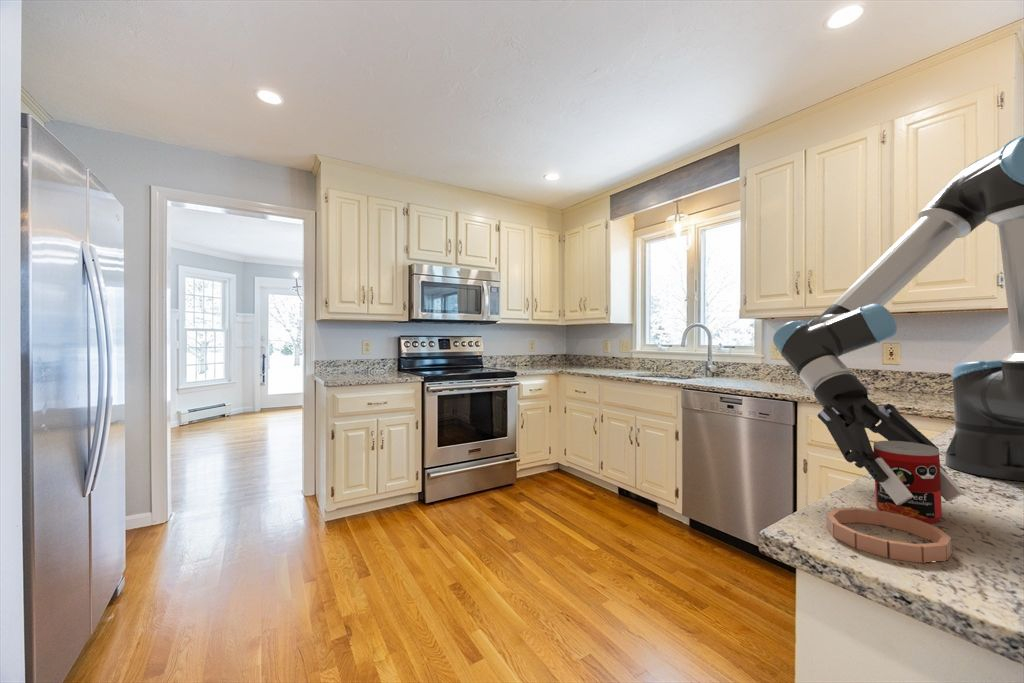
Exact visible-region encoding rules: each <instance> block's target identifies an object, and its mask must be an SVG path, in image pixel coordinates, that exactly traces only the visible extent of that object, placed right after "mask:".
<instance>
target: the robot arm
mask: <svg viewBox="0 0 1024 683" xmlns="http://www.w3.org/2000/svg"><path fill="white" fill-rule="evenodd" d="M917 220H918V221H916V222H915V223H914V224H913V225H912V226H911V227H910V228H909V229H908V230H907V231H906V232H905V233H904V234H903V235H902V236H901V237H900V238H899V239H897V241H896V242H895V243H894V244H893V245H892V246H891V247H889V249H888V250H886V251H885V253H883V254H882V255H881V257H879V258H878V259H877V260H876V261H875V262H874V263H873V264H872V265H871V266H870V267H869V268H868V269H867V270H866V271H864V273H863V274H861V276H859V278H858V279H857V280H856V281H855V282H853V283H852V284H851V285H850V287H848V289H847V290H845V291H844V292H843V293H842V294H841V295H840V296H839V297H838V298H837V299H836V300H835V301H833V303H832V304H831V305H830V306H829V307H828V308H826V310H824V311H823V312H822V314H821V315H819V316H816V317H813V318H812V319H811V320H809V321H808V322H807V323H806V321H804V320H796V321H795V320H792V321H788V322H786V323H784V324H783V325H781V326H780V327H779V328H777V330H776V331H775V333H774V334H773V337H772V342H773V344H774V346H775V348H776V349H777V350H778V352H779V353H780V356H781V357H782V358H783V359H784V360H785V361H786V363H788V364H789V366H790V367H791V368H792V369H793V371H794V372H795V374H797V375H798V377H799V378H800V380H801V381H802V382H803V383H804V385H805V386H806V387H807V388H808V390H809V391H810V392H811V393H812V394H813V396H814V398H815V400H817V401H818V403H819V405H821V406H822V408H823V409H822V410H821V411H820V412H819V413H818V414H817V415H816V416H817V418H818V419H819V420H820V421H821V422H822V423H823V424H824V425H825V426H826V428H827V430H828V432H829V433H830V435H831V436H832V438H833V440H834V442H835V444H836V445H837V448H838V449H839V451H840V453H841V454H842V455H843V458H844V459H845V460H846V462H848V463H854V462H855V463H854V465H855V467H857V468H858V469H862V468H865V469H866V471H867V472H868V474H870V476H871V478H872V479H873V480H874V482H875V481H877V482H878V483H880V484H881V486H882V487H883V488H884V489H885V491H886V492H887V493H888V495H889V496H890V497H891V498H892V500H893V501H894V502H895V504H896V505H901V504H902V503H904V502H906V501H907V500H909V499H910V498H912V497H914V496H913V495H912V494H911V493H910V491H909V490H908V489H907V488H906V487H905V485H904V484H903V483H902V482H901V481H900V479H899V478H898V477H897V476H896V474H895V473H894V472H893V471H892V470H891V468H890V467H889V466H888V465H887V464H886V462H885V461H884V460H883V459H882V458H877V459H874V458H875V455H874V449H873V447H872V445H871V441H870V440H869V436H868V434H867V430H866V429H868V430H869V431H871V432H872V433H874V434H879V435H880V436H882V437H884V439H886V441H904V442H913V443H920V444H925V445H929V446H933V447H935V448H937V449H938V450H940V448H939V447H938V446H936V445H935V444H934V443H933V442H932V441H931V439H929V438H927V436H926V435H924V434H923V433H922V432H921V431H920V430H918V428H917V427H915V426H914V425H913V424H911V423H910V422H909V421H908V420H907V418H905V417H903V416H902V415H901V414H900V413H899V411H898V410H897V408H896V407H895V406H894V404H891V403H887V404H886V405H884V406H881V405H877V404H876V403H875V402H873V401H872V400H870V398H869V394H868V389H867V387H866V386H865V385H864V384H863V383H862V382H861V381H860V379H859V378H857V376H855V375H854V374H853V372H852V370H851V369H850V368H849V367H848V366H847V365H846V364H845V363H844V362H843V361H842V360H841V359H840V358H839V357H840V356H843V355H846V354H849V353H852V352H855V351H857V350H860V349H863V348H866V347H869V346H871V345H875V344H879V343H881V342H883V341H886V340H887V339H890V338H892V337H894V336H895V335H896V334H897V330H898V326H897V321H896V319H895V317H894V316H893V314H892V313H891V312H890V310H889V309H887V308H886V307H885V305H886V304H888V303H889V302H890V301H891V300H892V299H893V298H894V297H896V295H897V294H898V293H899V292H900V291H901V290H903V289H904V287H906V286H907V285H908V284H909V283H910V282H911V281H912V280H913V279H914V278H915V277H917V276H918V275H919V274H920V273H921V272H922V271H923V270H924V269H925V268H926V267H927V266H928V265H929V264H930V263H931V262H933V261H934V260H935V259H936V258H937V257H938V256H939V255H940V254H941V253H942V252H943V251H945V249H946V248H947V247H948V246H950V245H951V244H952V243H953V242H954V241H955V240H956V239H961V238H962V239H963V238H965V237H967V236H969V235H970V234H971V233H972V231H974V230H975V229H976V228H977V227H979V226H980V225H982V224H983V223H985V222H989V223H992V224H994V225H996V226H997V227H998V234H999V244H1000V250H1001V262H1002V270H1003V278H1004V289H1005V297H1006V303H1007V315H1008V323H1009V331H1010V340H1011V349H1012V350H1011V352H1010V353H1009V354H1007V355H1006V356H1004V358H1002V359H995V360H994V359H993V360H992V359H991V360H979V361H978V360H977V361H967V362H960V363H958V364H956V365H955V366H954V367H953V370H952V378H951V382H952V385H953V389H952V390H953V403H954V404H953V405H954V406H953V408H954V425H955V426H954V433H953V436H952V438H951V440H950V443H949V444H948V447H947V449H946V451H945V453H944V454H945V455H944V458H945V459H944V460H945V466H946V467H949V468H951V469H954V470H956V471H960V472H964V473H968V474H974V475H977V476H983V477H989V478H993V479H994V478H995V479H1001V480H1009V481H1018V482H1024V134H1023V135H1019V136H1017V137H1015V138H1013V139H1012V140H1010V141H1008V142H1007V143H1006V144H1005V145H1003V146H1001V147H1000V148H997V149H996V150H994V151H992V152H990V153H989V154H987V155H985V156H983V157H982V158H980V159H978V160H976V161H974V162H973V163H970V164H969V165H967V166H966V167H965V168H963V169H962V170H961V171H959V173H957V174H956V175H955V176H954V177H953V178H952V179H951V180H950V181H949V182H948V183H947V184H946V185H945V186H944V187H943V188H942V189H941V190H940V191H939V192H938V193H937V194H936V195H935V197H933V198H932V199H931V200H930V202H929V203H927V205H926V206H925V207H923V208H922V209H921V210H920V211H919V212H918V214H917ZM879 422H880V423H879ZM877 424H878V425H877ZM940 478H941V498H943V499H944V500H945V502H951V501H953V500H954V499H957V498H959V497H960V496H962V495H963V494H965V492H964V491H963V490H962V488H960V486H959V485H958V484H957V483H956V482H955V481H954V480H953V479H952V478H951V476H950V475H948V472H947V471H946V470H945V469H944V468H943V466H942V465H941V464H940Z"/></svg>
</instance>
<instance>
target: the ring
mask: <svg viewBox="0 0 1024 683" xmlns="http://www.w3.org/2000/svg"><path fill="white" fill-rule="evenodd" d="M854 523H855V524H856V523H859V524H868V525H877V526H882V527H888V528H891V529H894V530H899V531H903V532H906V533H910V534H912V533H913V535H914V536H917V535H918V536H917V537H919V536H920V538H922V537H923V538H922V539H924V538H925V539H924V540H927V539H928V540H927V541H929V540H931V541H932V542H933V543H932V542H931V541H930V542H928V543H926V542H925V543H911V542H903V541H896V540H887V539H885V538H884V539H883V538H881V537H877V536H873V535H870V534H866V533H862V532H859V531H857V530H854V529H852V528H850V527H848V526H846V525H844V524H854ZM826 529H827V530H828V532H829V533H830V534H831V536H832V537H833V538H834V539H836V540H838V541H840V542H842V543H844V544H846V545H848V546H850V547H852V548H854V549H857V550H860V551H863V552H866V553H869V554H870V553H871V554H873V555H876V556H880V557H883V558H887V559H888V558H889V559H890V560H891V559H892V560H897V561H898V560H899V561H905V562H911V563H918V562H919V564H926V563H925V562H932V561H944V562H947V561H946V560H948V561H949V559H948V558H950V557H951V555H952V536H950V535H948V533H946V532H945V531H943V530H942V529H941V528H939V527H938V526H935V525H933V524H931V523H925V522H922V521H920V520H917V519H914V518H910V517H908V516H904V515H899V514H895V513H891V512H886V511H880V510H878V509H872V508H864V507H863V508H862V507H855V506H854V507H840V508H833V509H831V510H830V511H828V512H827V513H826ZM920 562H921V563H920Z"/></svg>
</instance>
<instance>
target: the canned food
mask: <svg viewBox="0 0 1024 683" xmlns="http://www.w3.org/2000/svg"><path fill="white" fill-rule="evenodd" d="M872 449H873V452H874V455H875V458H874V459H877V458H882V459H883V460H884V461H885V462H886V464H887V465H888V466H889V467H890V468H891V470H892V471H893V472H894V473H895V474H896V476H897V477H898V478H899V479H900V481H901V482H902V483H903V484H904V485H905V487H906V488H907V489H908V490H909V491H910V493H911V494H912V495H913V496H914V497H912V498H910V499H909V500H907V501H906V502H904V503H902V504H901V505H896V504H895V502H894V501H893V500H892V498H891V497H890V496H889V495H888V493H887V492H886V491H885V489H884V488H883V487H882V486H881V484H880V483H878V482H877V481H875V480H874V493H875V505H876V508H877V510H880V511H886V512H891V513H895V514H899V515H904V516H908V517H910V518H914V519H917V520H920V521H922V522H925V523H928V524H936V523H938V522H940V520H941V519H942V515H943V511H942V510H943V507H942V506H943V505H942V496H941V478H940V465H941V459H940V452H939V450H940V449H939V448H938V449H939V450H938V449H937V448H935V447H933V446H929V445H925V444H920V443H913V442H904V441H888V440H880V441H879V440H878V441H875V442H873V447H872ZM935 522H936V523H935Z"/></svg>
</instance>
